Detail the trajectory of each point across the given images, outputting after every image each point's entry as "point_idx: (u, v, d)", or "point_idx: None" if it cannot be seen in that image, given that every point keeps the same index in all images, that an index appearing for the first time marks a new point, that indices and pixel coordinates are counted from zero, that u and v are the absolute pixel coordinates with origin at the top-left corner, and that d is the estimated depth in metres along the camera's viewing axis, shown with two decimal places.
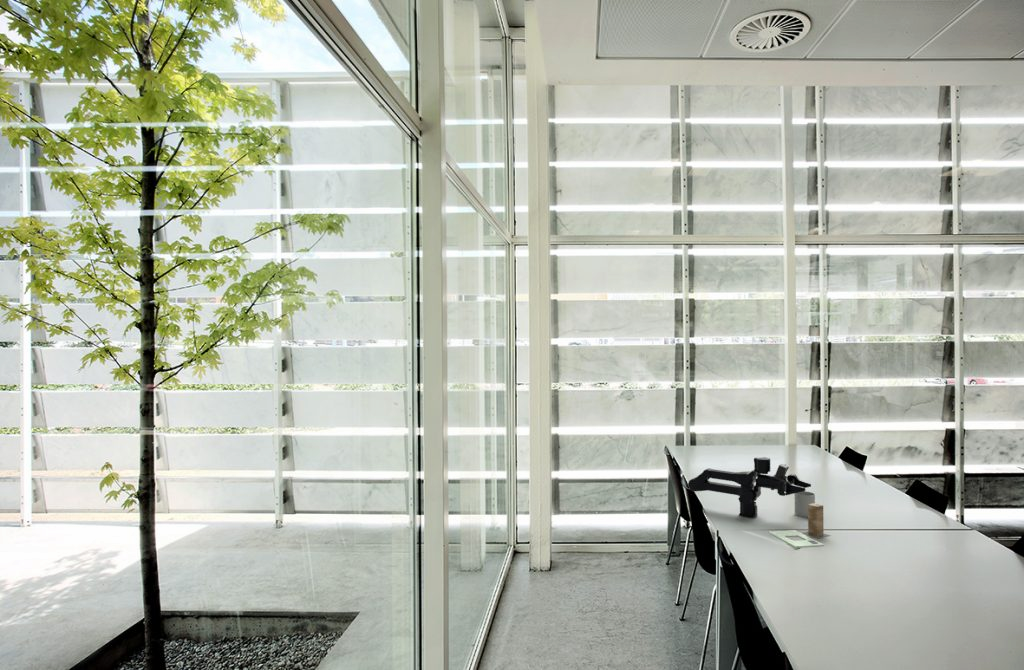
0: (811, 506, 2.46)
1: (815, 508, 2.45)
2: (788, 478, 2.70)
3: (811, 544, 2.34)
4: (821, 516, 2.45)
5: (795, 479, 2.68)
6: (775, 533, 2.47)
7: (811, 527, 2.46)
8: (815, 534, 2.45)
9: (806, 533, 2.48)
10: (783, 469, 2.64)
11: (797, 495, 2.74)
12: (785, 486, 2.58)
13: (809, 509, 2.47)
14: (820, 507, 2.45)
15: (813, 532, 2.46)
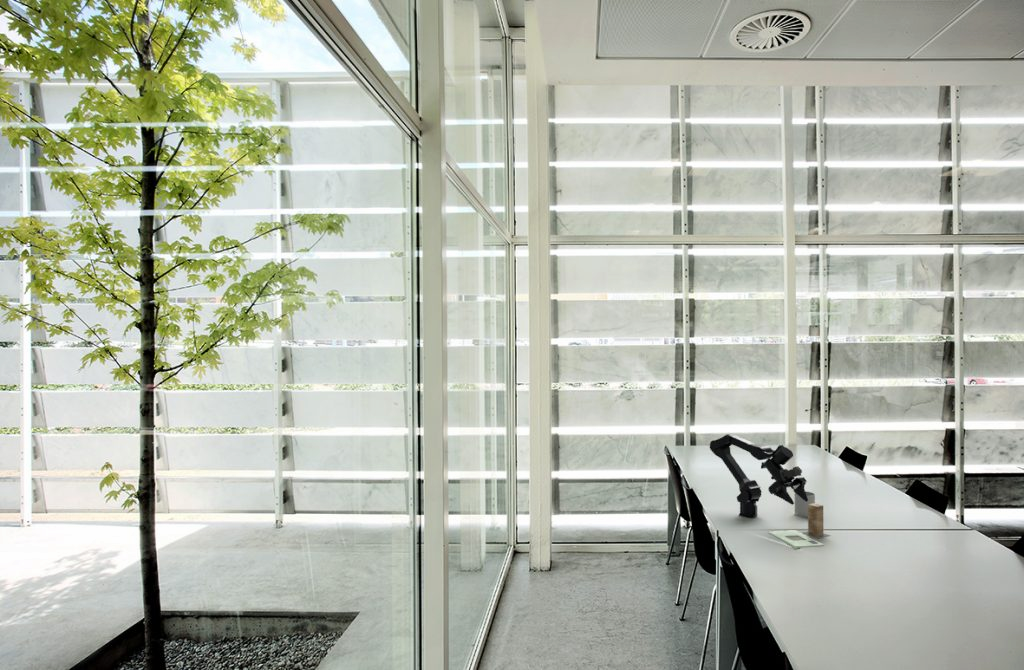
0: (811, 506, 2.46)
1: (815, 508, 2.45)
2: (796, 479, 2.60)
3: (811, 544, 2.34)
4: (821, 516, 2.45)
5: (800, 485, 2.58)
6: (775, 533, 2.47)
7: (811, 527, 2.46)
8: (815, 534, 2.45)
9: (806, 533, 2.48)
10: (792, 474, 2.53)
11: (797, 495, 2.74)
12: (778, 489, 2.53)
13: (809, 509, 2.47)
14: (820, 507, 2.45)
15: (813, 532, 2.46)
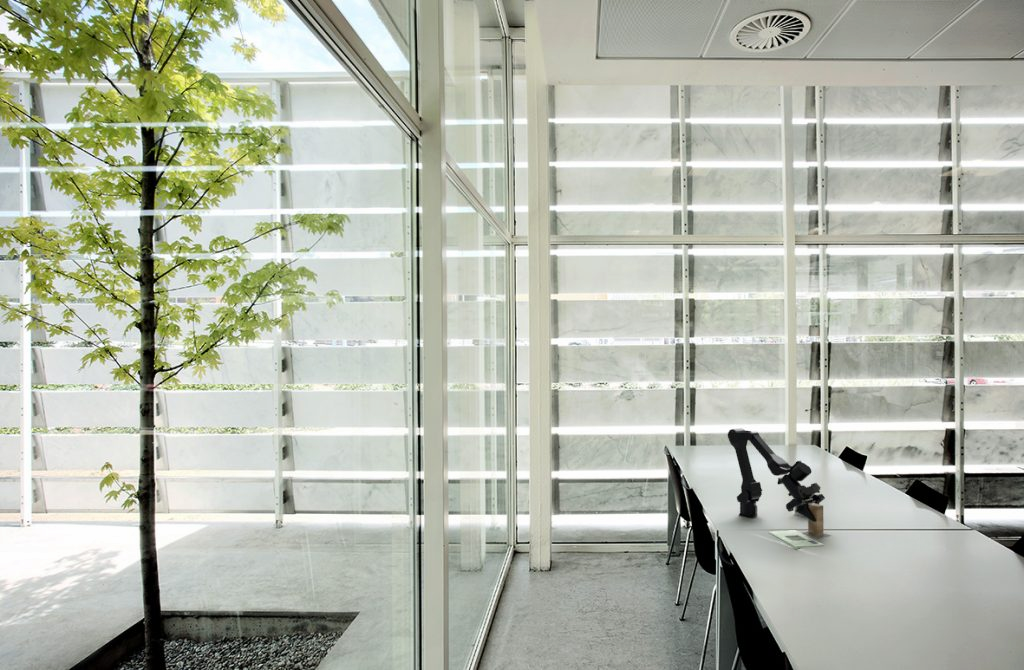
0: (811, 506, 2.46)
1: (815, 508, 2.45)
2: (814, 496, 2.53)
3: (811, 544, 2.34)
4: (821, 516, 2.45)
5: None
6: (775, 533, 2.47)
7: (811, 527, 2.46)
8: (815, 534, 2.45)
9: (806, 533, 2.48)
10: (811, 492, 2.46)
11: None
12: (800, 506, 2.47)
13: None
14: (820, 507, 2.45)
15: (813, 532, 2.46)
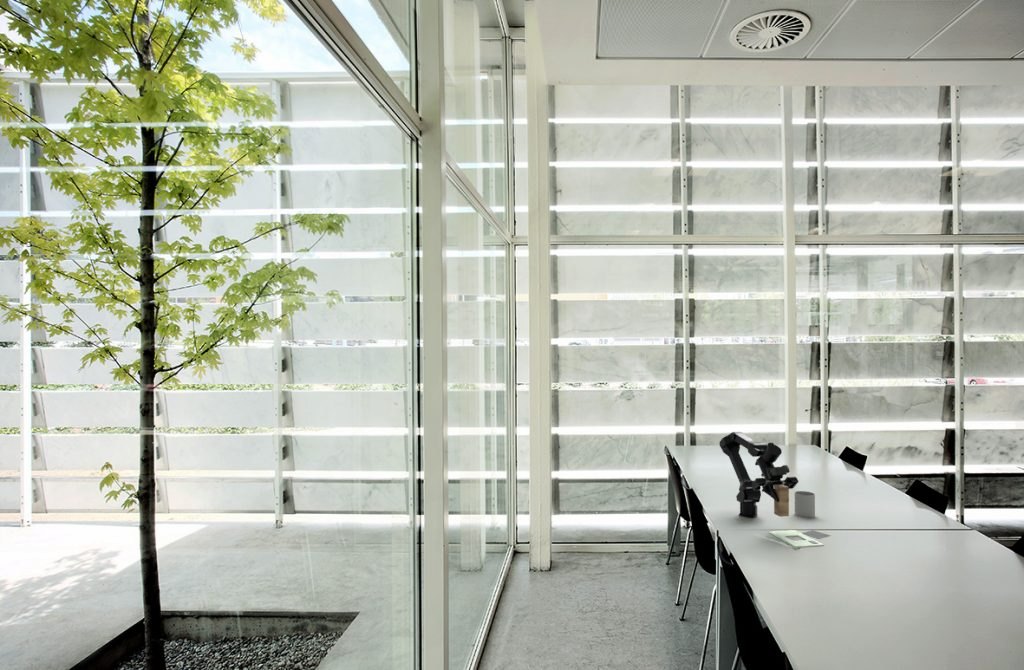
0: (776, 487, 2.51)
1: (778, 489, 2.49)
2: (787, 479, 2.56)
3: (811, 544, 2.34)
4: (786, 497, 2.49)
5: None
6: (775, 533, 2.47)
7: (776, 507, 2.51)
8: (778, 514, 2.49)
9: (806, 533, 2.48)
10: (775, 472, 2.51)
11: (797, 495, 2.74)
12: (765, 485, 2.53)
13: (775, 489, 2.52)
14: (784, 488, 2.49)
15: (777, 512, 2.50)
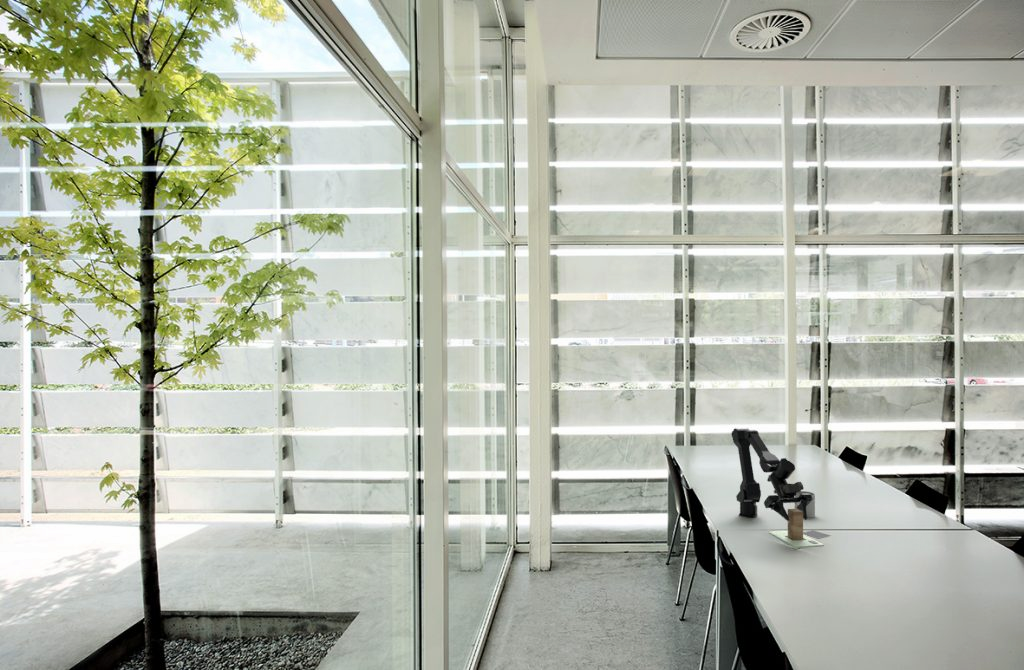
0: (789, 511, 2.42)
1: (792, 513, 2.40)
2: (801, 496, 2.47)
3: (811, 544, 2.34)
4: (800, 522, 2.40)
5: (801, 502, 2.44)
6: (775, 533, 2.47)
7: (789, 532, 2.42)
8: None
9: (806, 533, 2.48)
10: (789, 490, 2.42)
11: (797, 495, 2.74)
12: (774, 503, 2.43)
13: (788, 514, 2.43)
14: (798, 513, 2.40)
15: (791, 538, 2.41)
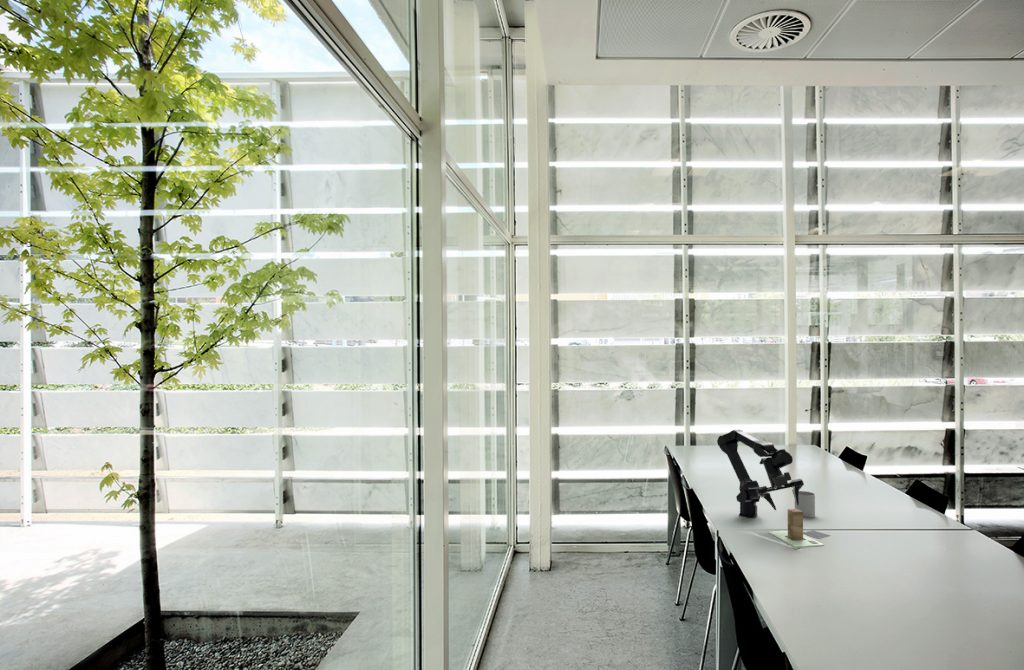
0: (789, 511, 2.42)
1: (792, 513, 2.40)
2: (792, 482, 2.56)
3: (811, 544, 2.34)
4: (800, 522, 2.40)
5: (794, 489, 2.55)
6: (775, 533, 2.47)
7: (789, 532, 2.42)
8: None
9: (806, 533, 2.48)
10: (775, 483, 2.53)
11: None
12: (762, 494, 2.58)
13: (788, 514, 2.43)
14: (798, 513, 2.40)
15: (791, 538, 2.41)
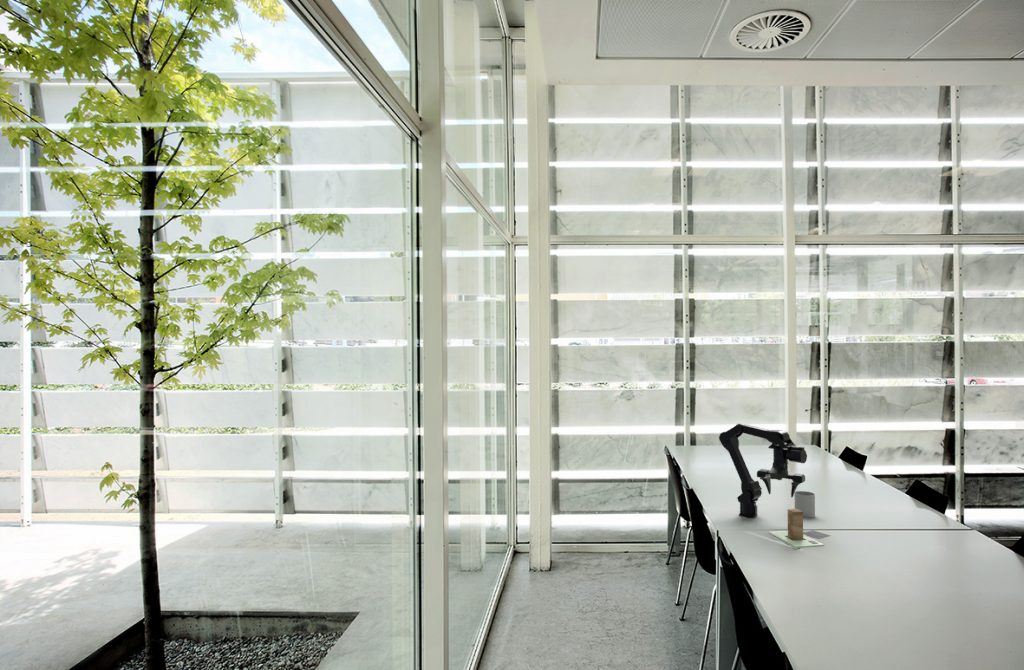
0: (789, 511, 2.42)
1: (792, 513, 2.40)
2: None
3: (811, 544, 2.34)
4: (800, 522, 2.40)
5: None
6: (775, 533, 2.47)
7: (789, 532, 2.42)
8: None
9: (806, 533, 2.48)
10: (770, 476, 2.60)
11: (797, 495, 2.74)
12: None
13: (788, 514, 2.42)
14: (798, 513, 2.40)
15: (791, 538, 2.41)
